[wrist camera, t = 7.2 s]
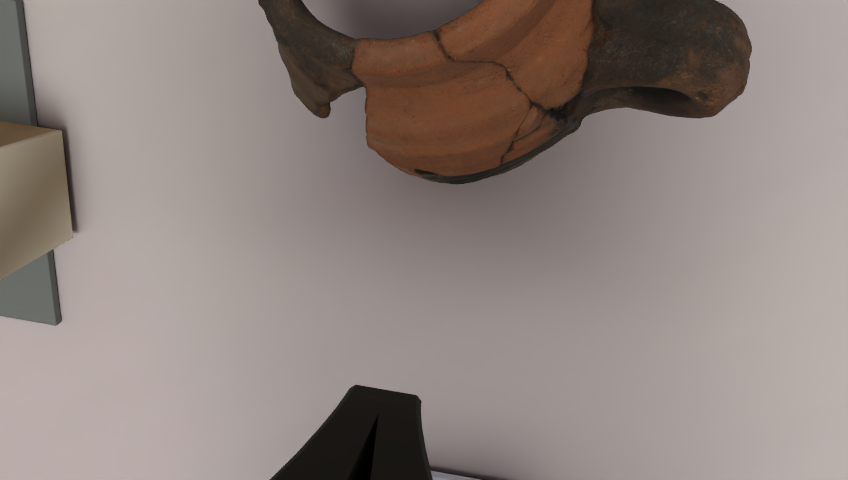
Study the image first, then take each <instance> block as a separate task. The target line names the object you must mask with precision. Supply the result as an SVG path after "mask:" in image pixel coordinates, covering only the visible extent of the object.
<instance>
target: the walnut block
mask: <svg viewBox="0 0 848 480" xmlns="http://www.w3.org/2000/svg"><path fill="white" fill-rule="evenodd" d="M71 238H73V232H72V223H71V213H70V204H69V194H68V185H67V176H66V166H65V157H64V147H63V138H62V131H61V130H55V129H49V128H42V127H36V126H30V125H23V124H17V123H11V122H4V121H0V280H1V279H3V278H4V277H6V276H8V275H10V274H11V273H13V272H15V271H16V270H18V269H20V268H22V267H23V266H25V265H27V264H28V263H30V262H32V261H34V260H35V259H37V258H39V257H40V256H42V255H44V254H46V253H47V252H49V251H51V250H52V249H54V248H56V247H58V246H59V245H61V244H63V243H64V242H66V241H68V240H70V239H71Z"/></svg>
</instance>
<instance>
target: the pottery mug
mask: <svg viewBox="0 0 848 480" xmlns="http://www.w3.org/2000/svg"><path fill="white" fill-rule="evenodd" d="M258 1H259V5H260V6H261V7H262V8H263V10H264V12H265V14H266V17H267V20H268V22H269V23H270V25H271V26H272V28H273V31H274V35H275V37H276V40H277V42H278V48H279V52H280V55H281V58H282V60H283V62H284V64H285V66H286V68H287V70H288V72H289V75H290V78H291V84H292V88H293V91H294V93H295V94H296V96H297V97H298V98H299V99H300V100H301V102H302V103H303V104H304V105H305V106H306V107H307V108H308V110H310V111H311V112H312V113H313V114H314V115H316V116H318V117H320V118H327V117H328V116H329V114H330V110H331V108H330V102H332V101H334V100H336V99H337V98H338V97H340V96H341V95H342V94H344V93H347V92H349V91H352V90H355V89H357V88H359V87H365V89H366V94H367V97H366V101H365V113H366V116H367V117H366V133H367V136H366V139H367V145H368V147H369V148H371V149H373V150H375V151H376V152H377V153H378V154H379V155H380V156H381V157H383V158H384V159H385V160H386V161H387V162H389V163H390V164H392V165H393V166H395V167H396V168H398V169H400V170H401V171H403V172H405V173H407V174H410V175H414V176H418V177H420V178H423V179H426V180H429V181H433V182H439V183H449V184H465V183H470V182H475V181H478V180H481V179H484V178H488V177H491V176H495V175H499V174H502V173H505V172H507V171H510V170H512V169H514V168H516V167H518V166H520V165H522V164H524V163H525V162H527V161H529V160H530V159H532V158H533V157H535V156H536V155H538V154H539V153H541V152H543V151H545V150H546V149H548V148H550V147H551V146H553V145H554V144H556V143H557V142H559V141H560V140H561V139H563V138H564V137H566V136H567V135H569V134H571V133H573V132H575V131H576V130H577V129H578V128H579V127H580V125H581V121H582V120H583V118H584V117H585V116H587V115H590V114H592V113H596V112H600V111H603V110H607V109H613V108H623V107H629V108H633V109H638V110H644V111H650V112H654V113H658V114H663V115H668V116H676V117H686V118H704V117H712V116H715V115H716V114H718V113H719V112H720V111H722V110H723V109H724V108H725V107H726V106H727V105H728V104H729V103H731V102H732V101H733V100H735V99H736V98H737V97H738V96H739V95H741V94H742V93H743V91H744V89H745V86H746V84H747V78H748V74H749V69H750V61H749V58H750V55H751V52H752V46H751V42H750V39H749V37H748V34H747V30H746V27H745V25H744V23H743V21H742V20H741V19H740V17H739V16H738V15H737V14H736V13H735V12H734V11H732V10H731V9H730V8H728V7H727V6H725V5H724V4H722V3H719V2H717V1H715V0H483V1H482V2H481V3H479V4H478V5H477V6H476V7H474V8H473V9H472V10H470V11H468V12H467V13H465V14H464V15H462V16H460V17H459V18H457V19H455V20H454V21H451V22H449V23H447V24H445V25H443V26H441V27H440V28H438V29H437V30H434V31H428V32H424V33H421V34H417V35H414V36H410V37H404V38H395V39H370V38H361V39H354V38H351V37H348V36H346V35H344V34H342V33H339V32H337V31H335V30H333V29H331V28H329V27H327V26H326V25H324V24H323V23H321V22H320V21H318V20H317V19H316V18H315V17H314V16H313V15H312V14H311V13H310V11H309V10H308V9H307V8H306V6H305V5H304V3H303V2H302V0H258ZM563 104H565V105H564V107H563V108H562V109H560V110H559V111H556V110H553V109H551V108H553V107H558V106H561V105H563Z"/></svg>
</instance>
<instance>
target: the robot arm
mask: <svg viewBox="0 0 848 480" xmlns="http://www.w3.org/2000/svg"><path fill="white" fill-rule="evenodd" d="M270 480H480V479H474V478H469V477H463V476H458V475H452V474H446V473H441V472H435V471H431V470H430V466H429V462H428V458H427V453H426V448H425V443H424V437H423V430H422V422H421V400H420V399H419V398H418V396H417V395H412V394H406V393H400V392H394V391H389V390H383V389H377V388H371V387H366V386H360V385H355V386H353V387H351V388H350V389H349V390H348V392H347V393H346V395H345V396H344V398H343V399H342V400H341V402H340V403H339V405H338V406H337V407H336V408H335V410H334V411H333V412H332V414H331V415H330V416H329V417H328V418H327V420H326V421H325V422H324V423H323V424H322V426H321V427H320V428H319V429H318V430H317V431H316V433H315V434H314V435H313V436H312V437H311V438H310V439H309V440H308V441H307V442H306V444H305V445H304V446H303V447H302V448H301V449H300V450H299V451H298V452H297V453H296V454H295V455H294V457H293V458H292V459H290V460H289V461H288V462H287V463H286V464H285V465H284V466H283V467H282V468H281V469H280V470H279V471H278V472H277V473H276V474H275V475H274V476H273V477H272V478H271V479H270Z"/></svg>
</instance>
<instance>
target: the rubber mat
mask: <svg viewBox="0 0 848 480" xmlns="http://www.w3.org/2000/svg"><path fill="white" fill-rule="evenodd" d="M0 121H4V122H11V123H17V124H23V125H30V126H36V127H37V119H36V110H35V102H34V94H33V86H32V77H31V69H30V61H29V53H28V45H27V36H26V28H25V20H24V12H23V3H22V1H20V0H0ZM0 316H3V317H9V318H15V319H21V320H27V321H32V322H38V323H44V324H50V325H58V324H59V323H60V322H61V316H60V308H59V299H58V291H57V283H56V275H55V267H54V258H53V250H51V251H49V252H47V253H46V254H44V255H42V256H40V257H39V258H37V259H35V260H34V261H32V262H30V263H28V264H27V265H25V266H23V267H22V268H20V269H18V270H16V271H15V272H13V273H11V274H10V275H8V276H6V277H4V278H3V279H1V280H0Z"/></svg>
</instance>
